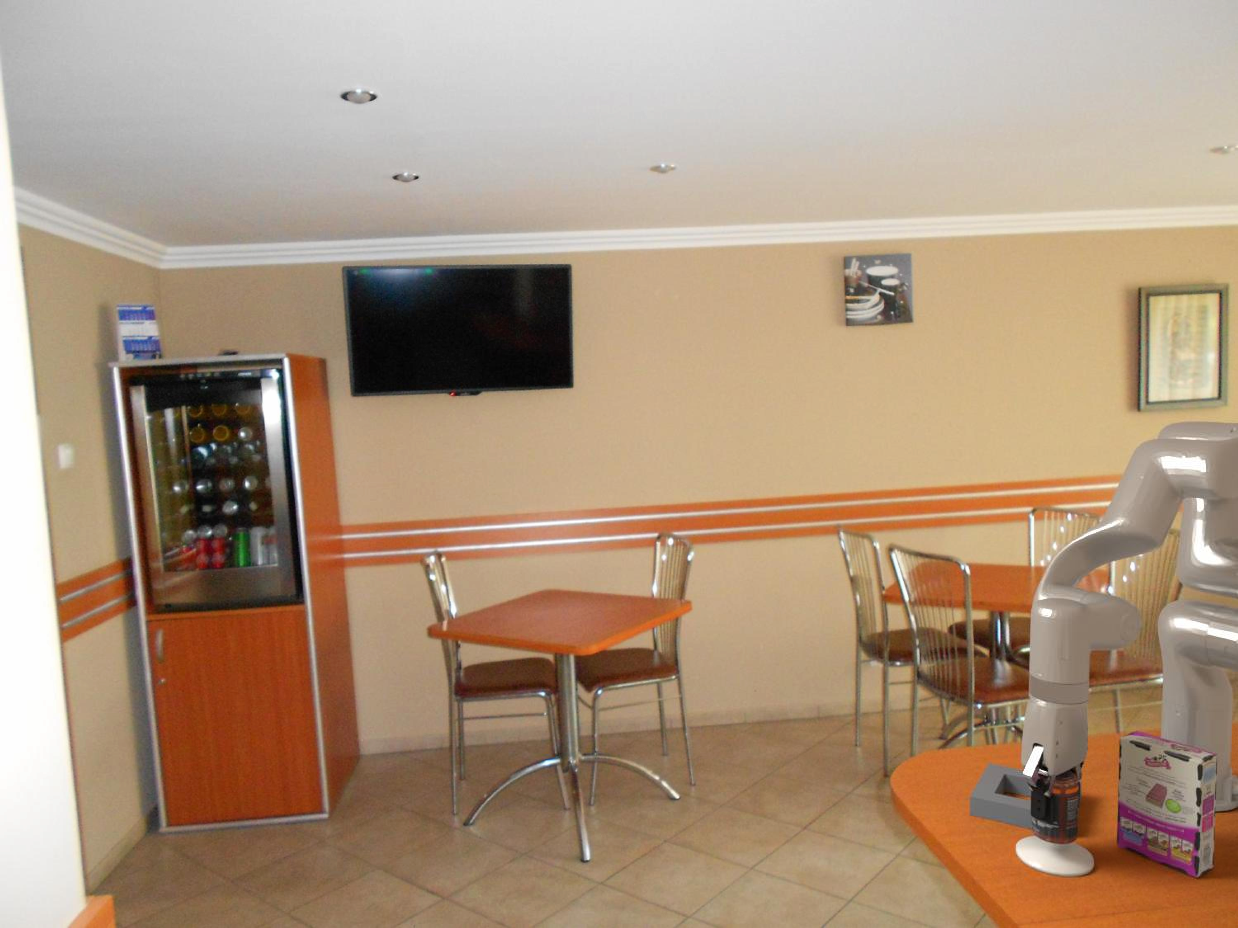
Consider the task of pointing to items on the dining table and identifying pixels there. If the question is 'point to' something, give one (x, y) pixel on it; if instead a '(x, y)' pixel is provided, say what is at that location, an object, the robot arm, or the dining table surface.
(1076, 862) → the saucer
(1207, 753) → the candy bar box
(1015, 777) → the socket block
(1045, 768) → the supplement bottle
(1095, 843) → the dining table surface
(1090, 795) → the dining table surface
